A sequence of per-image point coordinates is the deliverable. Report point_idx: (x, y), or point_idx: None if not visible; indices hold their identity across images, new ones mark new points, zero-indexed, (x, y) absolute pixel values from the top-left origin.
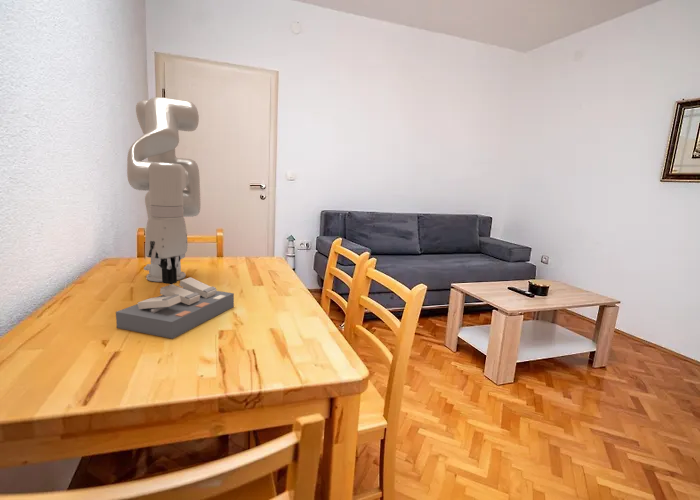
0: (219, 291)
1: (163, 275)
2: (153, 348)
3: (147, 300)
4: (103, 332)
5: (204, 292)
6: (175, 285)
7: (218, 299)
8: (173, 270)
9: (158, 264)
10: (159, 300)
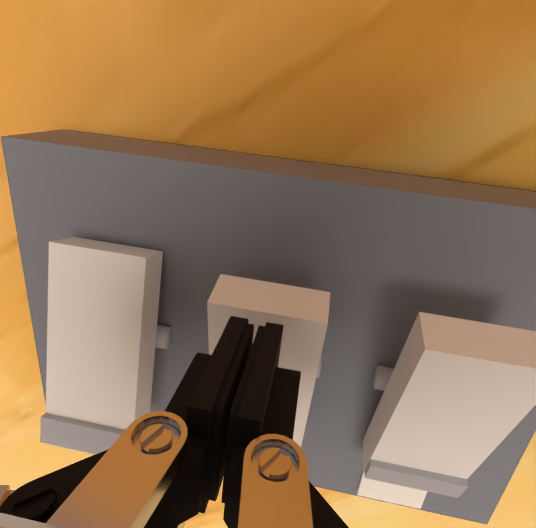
0: (513, 460)
1: (183, 386)
2: (22, 359)
3: (80, 287)
4: (14, 104)
5: (367, 459)
6: (322, 346)
7: (357, 492)
8: (207, 498)
9: (50, 482)
10: (53, 389)
